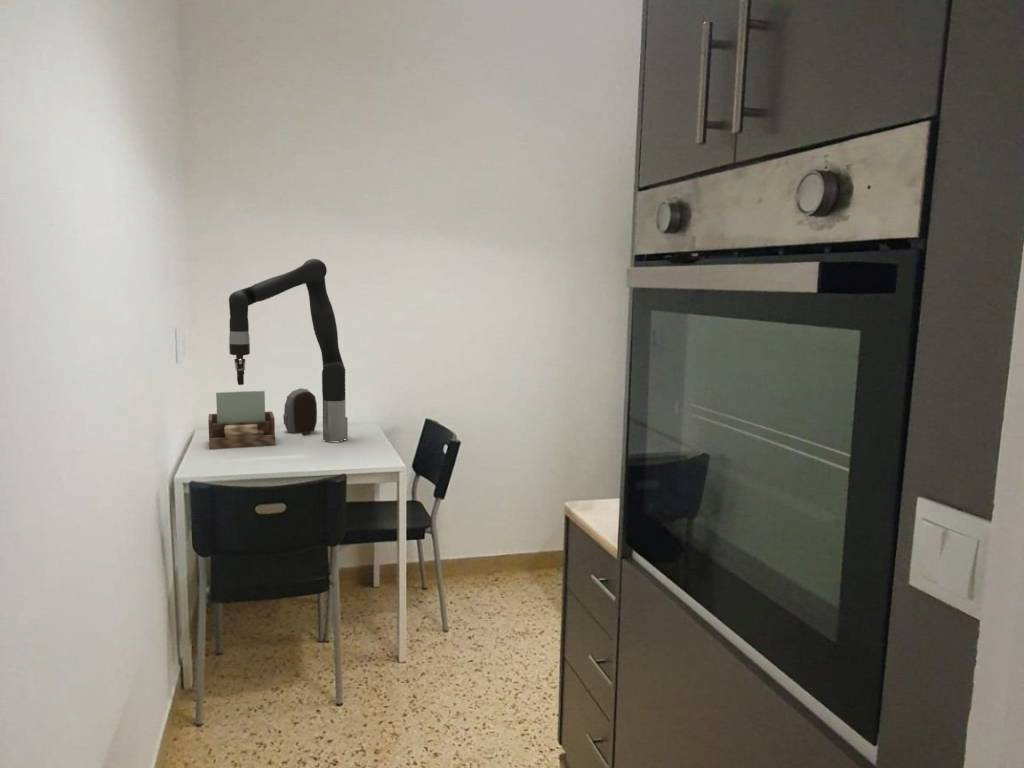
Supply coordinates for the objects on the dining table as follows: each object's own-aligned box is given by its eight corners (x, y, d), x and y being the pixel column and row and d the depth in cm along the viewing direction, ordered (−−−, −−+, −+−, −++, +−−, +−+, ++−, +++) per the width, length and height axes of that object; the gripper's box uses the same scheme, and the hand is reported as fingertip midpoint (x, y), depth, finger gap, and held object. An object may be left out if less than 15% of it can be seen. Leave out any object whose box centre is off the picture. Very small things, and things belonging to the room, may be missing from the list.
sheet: (265, 439, 297) (264, 390, 294) (265, 440, 295) (264, 391, 292) (217, 441, 290) (216, 392, 287) (217, 442, 288) (216, 393, 285)
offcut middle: (262, 435, 292) (262, 429, 291) (263, 438, 287) (263, 432, 287) (224, 438, 286) (224, 431, 285) (225, 440, 281) (225, 434, 281)
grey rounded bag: (289, 437, 306) (288, 391, 303) (279, 434, 312) (278, 388, 309) (320, 432, 317) (320, 387, 314) (310, 429, 323) (310, 385, 320)
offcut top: (257, 430, 290) (257, 424, 289) (257, 433, 285) (257, 426, 285) (225, 431, 286) (225, 425, 286) (224, 434, 281) (224, 428, 281)
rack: (272, 441, 300) (272, 411, 298) (275, 449, 287) (274, 418, 285) (209, 444, 291) (208, 414, 289) (209, 453, 278) (208, 421, 276)
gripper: (250, 344, 281) (251, 385, 284) (248, 340, 294) (249, 380, 297) (229, 344, 278) (230, 386, 281) (228, 340, 291) (230, 380, 294)
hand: (240, 383), depth 289 cm, fingers open, 8 cm apart
